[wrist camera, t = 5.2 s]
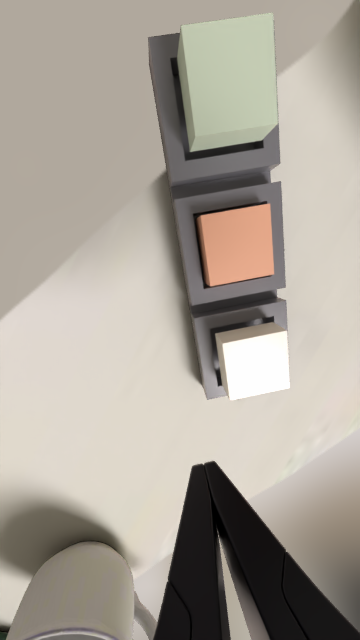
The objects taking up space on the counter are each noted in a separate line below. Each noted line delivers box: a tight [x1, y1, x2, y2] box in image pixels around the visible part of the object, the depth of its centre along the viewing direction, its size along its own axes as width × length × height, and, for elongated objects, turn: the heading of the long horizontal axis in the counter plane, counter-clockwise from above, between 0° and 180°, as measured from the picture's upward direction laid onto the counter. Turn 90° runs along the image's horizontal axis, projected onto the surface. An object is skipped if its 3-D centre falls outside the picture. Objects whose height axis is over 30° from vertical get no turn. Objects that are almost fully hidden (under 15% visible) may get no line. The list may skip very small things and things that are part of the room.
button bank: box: [148, 20, 290, 400], centre depth 17 cm, size 23×7×2 cm, turn 10°
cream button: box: [215, 322, 290, 401], centre depth 17 cm, size 4×4×2 cm
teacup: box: [6, 541, 157, 640], centre depth 23 cm, size 14×11×8 cm
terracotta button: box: [196, 204, 274, 286], centre depth 16 cm, size 4×4×2 cm
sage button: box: [177, 13, 278, 152], centre depth 13 cm, size 4×4×2 cm
